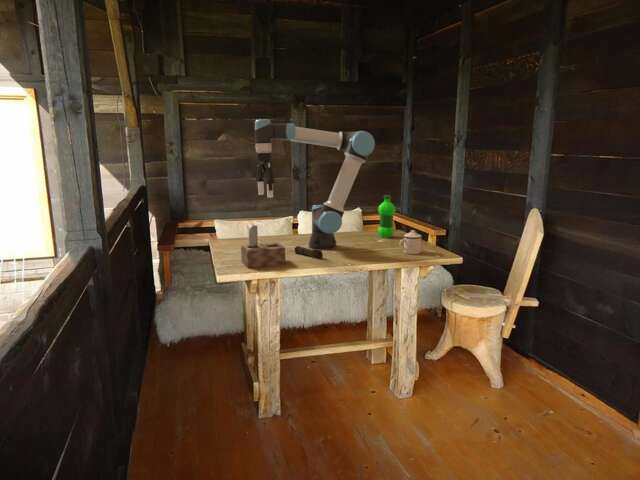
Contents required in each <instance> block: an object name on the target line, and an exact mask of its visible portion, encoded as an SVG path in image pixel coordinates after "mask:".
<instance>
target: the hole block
mask: <svg viewBox="0 0 640 480" xmlns="http://www.w3.org/2000/svg"><path fill="white" fill-rule="evenodd" d="M240 255H241V256H240V259H241V261H240V262H241V263H242V264H243V265H244V266H245V267H246V268H247V269H251V268H253V269H254V268H260V267H261V268H263V267H264V268H265V267H274V266H285V265H286V247H284V246H283V245H281V244H280V243H279V242H270V243H267V242H266V243H258V248H249V244H244V245H243V244H242V245H240Z"/></svg>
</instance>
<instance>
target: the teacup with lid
mask: <svg viewBox="0 0 640 480" xmlns="http://www.w3.org/2000/svg"><path fill="white" fill-rule="evenodd" d="M422 238H423V237H422V235H421V234H419V233H418V232H416V230H414V229H413V230H410V231H409V232H408V233H405V234H404V235H403V238H402V239H400V241H399V248H401V249H403V253H404V254H407V255H419V254H421V248H422ZM402 242H403V246H402Z"/></svg>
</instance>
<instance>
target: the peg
mask: <svg viewBox="0 0 640 480" xmlns="http://www.w3.org/2000/svg"><path fill="white" fill-rule="evenodd" d="M258 235H259V234H258V225H255V224H253V225H251V224H250V225H249V226H248V245H249V248H258V244H259V242H258V240H259V239H258Z"/></svg>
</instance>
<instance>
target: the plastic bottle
mask: <svg viewBox="0 0 640 480" xmlns="http://www.w3.org/2000/svg"><path fill="white" fill-rule="evenodd" d="M383 199H384V201H383V202H381V203H380V204H379V206H378V208H377V211H378V212H377V213H378V214H379V226H378V228H377V233H378V235H379V236H380V237H381V238H383V237H390V238H391V237H392V236H394V234H395V229H394V226H393V225H394V215H395V213H396V207H395V205H394V204H393V203H392V202H391V199H392V196H391V195H388V194H387V195H386V194H385V195H383Z"/></svg>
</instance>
